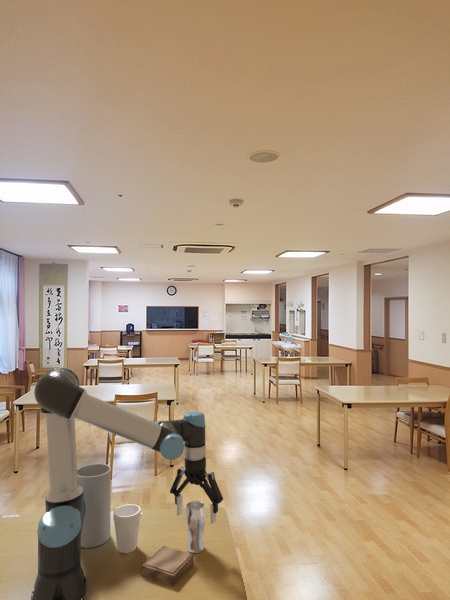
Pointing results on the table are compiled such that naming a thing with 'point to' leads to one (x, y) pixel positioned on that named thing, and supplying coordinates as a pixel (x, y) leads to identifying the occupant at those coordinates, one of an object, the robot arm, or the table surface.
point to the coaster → (168, 565)
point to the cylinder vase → (95, 503)
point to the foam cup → (127, 527)
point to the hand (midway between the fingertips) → (196, 517)
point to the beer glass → (195, 525)
